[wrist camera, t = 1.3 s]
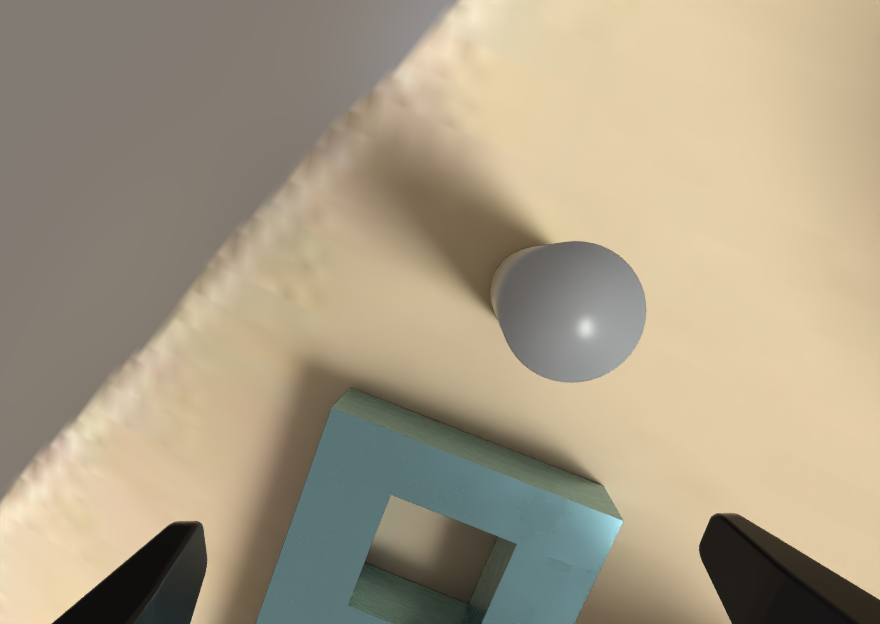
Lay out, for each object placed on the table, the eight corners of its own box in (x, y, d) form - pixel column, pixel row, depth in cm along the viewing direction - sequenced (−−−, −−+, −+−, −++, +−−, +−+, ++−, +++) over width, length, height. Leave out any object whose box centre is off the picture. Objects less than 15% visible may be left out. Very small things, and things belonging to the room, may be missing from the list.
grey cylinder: (595, 266, 21) (670, 272, 13) (559, 349, 22) (610, 403, 14) (509, 233, 21) (532, 220, 13) (476, 317, 22) (480, 352, 14)
